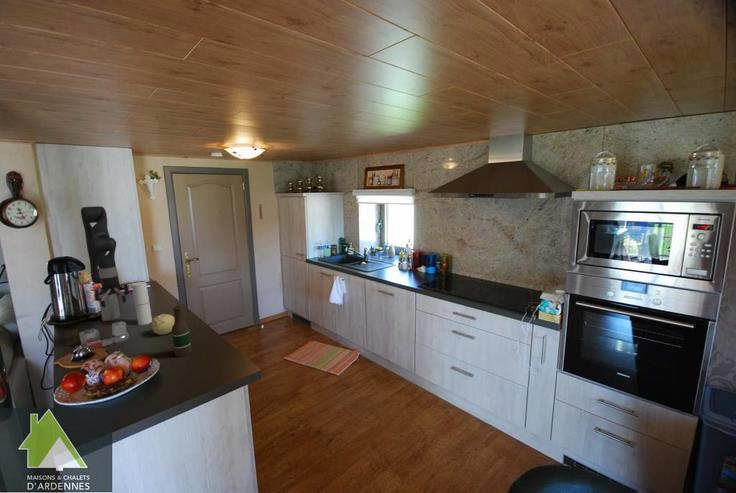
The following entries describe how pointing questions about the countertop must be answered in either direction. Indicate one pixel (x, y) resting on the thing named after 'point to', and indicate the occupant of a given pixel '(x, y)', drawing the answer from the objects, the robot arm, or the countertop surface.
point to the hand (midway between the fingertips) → (114, 304)
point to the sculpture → (163, 324)
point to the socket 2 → (119, 328)
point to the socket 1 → (89, 336)
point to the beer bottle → (180, 334)
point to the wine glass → (107, 341)
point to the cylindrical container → (142, 303)
